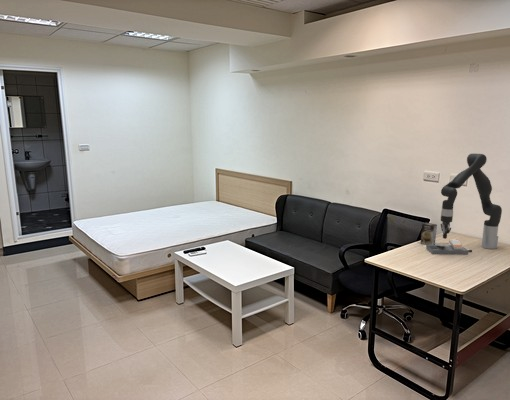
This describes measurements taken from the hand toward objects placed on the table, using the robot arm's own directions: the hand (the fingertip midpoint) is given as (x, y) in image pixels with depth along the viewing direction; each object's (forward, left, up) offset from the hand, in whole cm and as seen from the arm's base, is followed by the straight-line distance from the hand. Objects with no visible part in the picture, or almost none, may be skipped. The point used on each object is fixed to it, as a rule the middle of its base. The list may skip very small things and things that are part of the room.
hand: (444, 238), depth 277 cm
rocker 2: (-10, -4, -6) cm, 12 cm away
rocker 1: (0, -4, -6) cm, 7 cm away
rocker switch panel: (-7, -4, -11) cm, 14 cm away
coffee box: (+3, -22, -12) cm, 25 cm away
